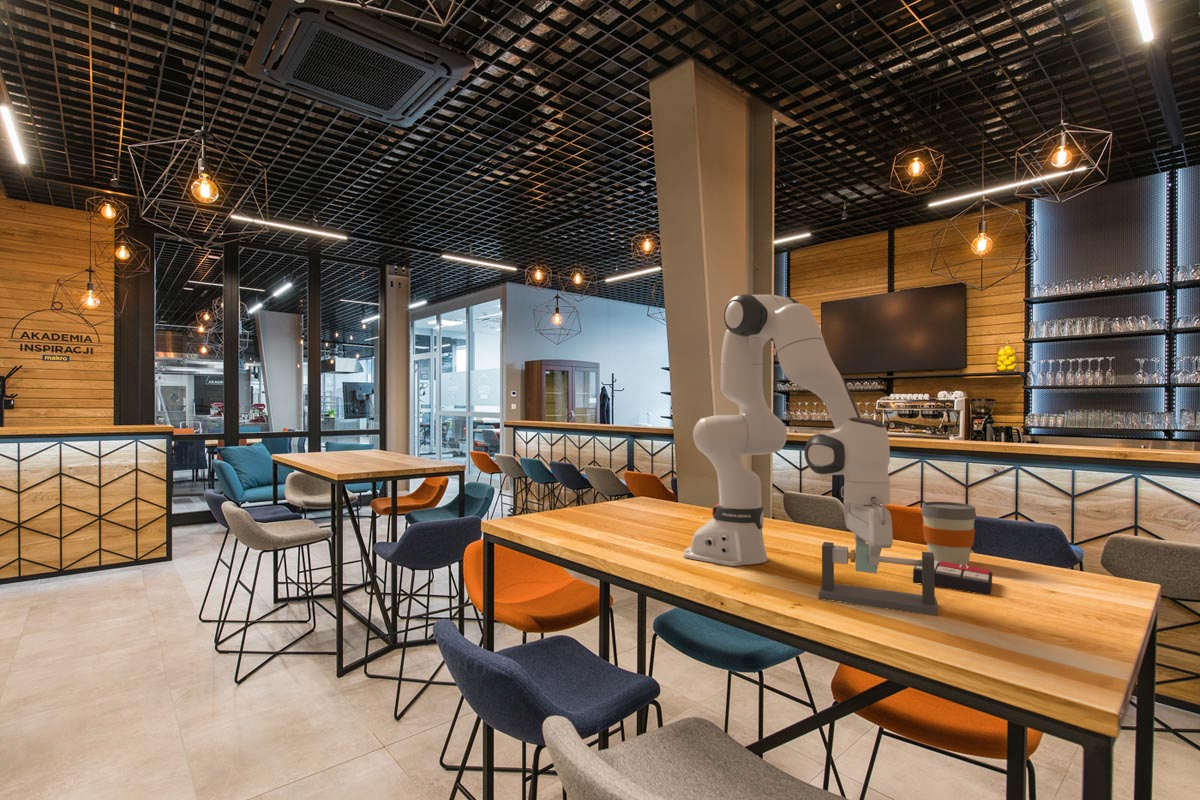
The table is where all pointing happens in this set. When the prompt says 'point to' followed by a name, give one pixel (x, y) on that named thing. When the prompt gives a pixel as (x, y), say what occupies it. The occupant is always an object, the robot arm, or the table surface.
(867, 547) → the sleeve
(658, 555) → the table surface
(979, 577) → the calculator
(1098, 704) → the table surface
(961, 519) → the reusable coffee cup
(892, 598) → the sliding block rail stand
